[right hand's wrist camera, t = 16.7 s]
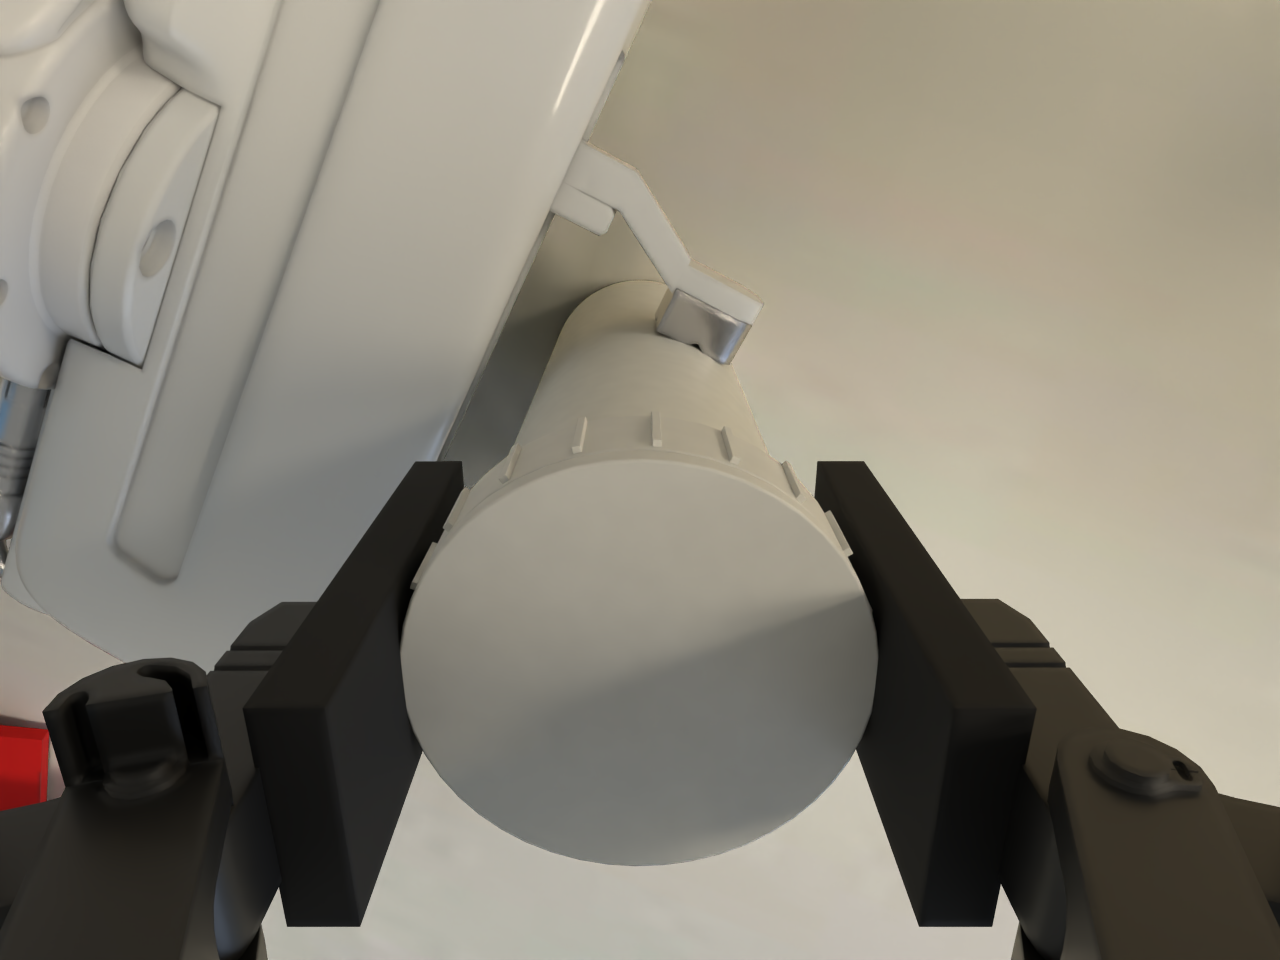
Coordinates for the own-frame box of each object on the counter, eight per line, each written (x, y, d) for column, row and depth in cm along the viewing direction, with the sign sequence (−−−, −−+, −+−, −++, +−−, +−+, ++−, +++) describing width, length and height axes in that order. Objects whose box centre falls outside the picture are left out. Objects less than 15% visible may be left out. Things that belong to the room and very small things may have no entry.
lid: (703, 840, 14) (712, 930, 12) (356, 675, 12) (316, 752, 11) (939, 549, 12) (985, 611, 10) (555, 323, 10) (542, 355, 9)
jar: (521, 339, 25) (367, 595, 11) (667, 245, 24) (707, 392, 10) (614, 475, 27) (585, 851, 12) (755, 391, 26) (897, 698, 11)
